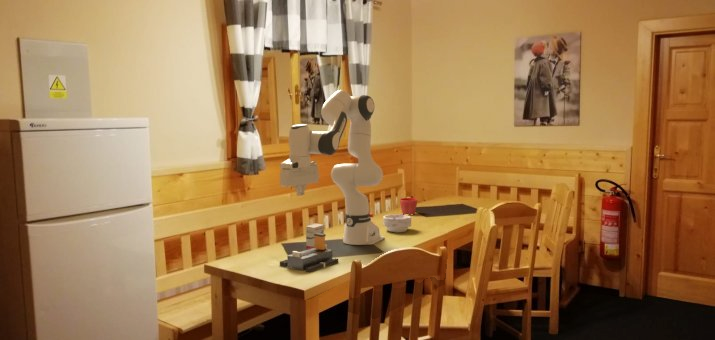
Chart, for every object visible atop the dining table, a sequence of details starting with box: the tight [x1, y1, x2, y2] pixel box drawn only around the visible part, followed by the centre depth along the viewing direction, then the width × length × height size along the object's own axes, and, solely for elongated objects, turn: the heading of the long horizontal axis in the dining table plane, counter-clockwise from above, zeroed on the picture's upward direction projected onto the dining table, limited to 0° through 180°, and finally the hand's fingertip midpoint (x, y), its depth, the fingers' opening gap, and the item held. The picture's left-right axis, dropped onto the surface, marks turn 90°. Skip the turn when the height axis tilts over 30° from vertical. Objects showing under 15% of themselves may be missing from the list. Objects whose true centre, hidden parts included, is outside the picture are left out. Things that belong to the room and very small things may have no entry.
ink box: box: [305, 223, 325, 250], centre depth 255 cm, size 8×5×12 cm, turn 152°
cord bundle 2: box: [305, 258, 339, 273], centre depth 227 cm, size 18×2×2 cm, turn 141°
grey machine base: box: [286, 244, 333, 272], centre depth 231 cm, size 18×9×7 cm, turn 141°
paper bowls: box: [382, 214, 412, 233], centre depth 295 cm, size 15×15×8 cm
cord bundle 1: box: [279, 258, 288, 268], centre depth 236 cm, size 18×4×2 cm, turn 141°
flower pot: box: [399, 197, 418, 215], centre depth 341 cm, size 11×11×10 cm
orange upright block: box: [314, 233, 326, 250], centre depth 235 cm, size 2×5×6 cm, turn 51°
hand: (300, 195), depth 231 cm, fingers closed
